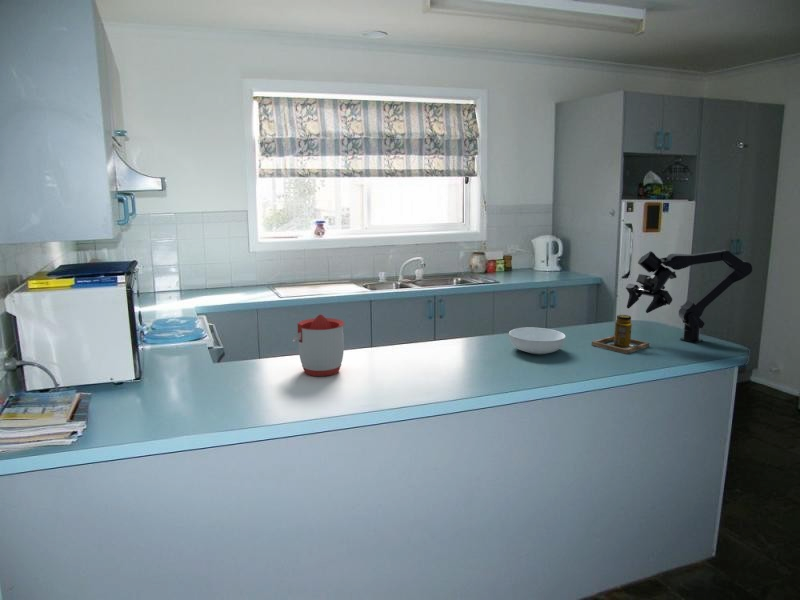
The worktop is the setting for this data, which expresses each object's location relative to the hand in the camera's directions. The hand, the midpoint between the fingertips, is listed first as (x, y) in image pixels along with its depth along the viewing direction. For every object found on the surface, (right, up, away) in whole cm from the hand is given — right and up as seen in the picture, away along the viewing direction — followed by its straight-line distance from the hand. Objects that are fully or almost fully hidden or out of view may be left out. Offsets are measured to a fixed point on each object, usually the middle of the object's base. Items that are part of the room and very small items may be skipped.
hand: (636, 310), depth 239 cm
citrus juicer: (-120, -21, -32) cm, 126 cm away
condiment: (-7, -14, -1) cm, 16 cm away
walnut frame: (-7, -14, -1) cm, 16 cm away
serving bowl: (-41, -16, -7) cm, 44 cm away
